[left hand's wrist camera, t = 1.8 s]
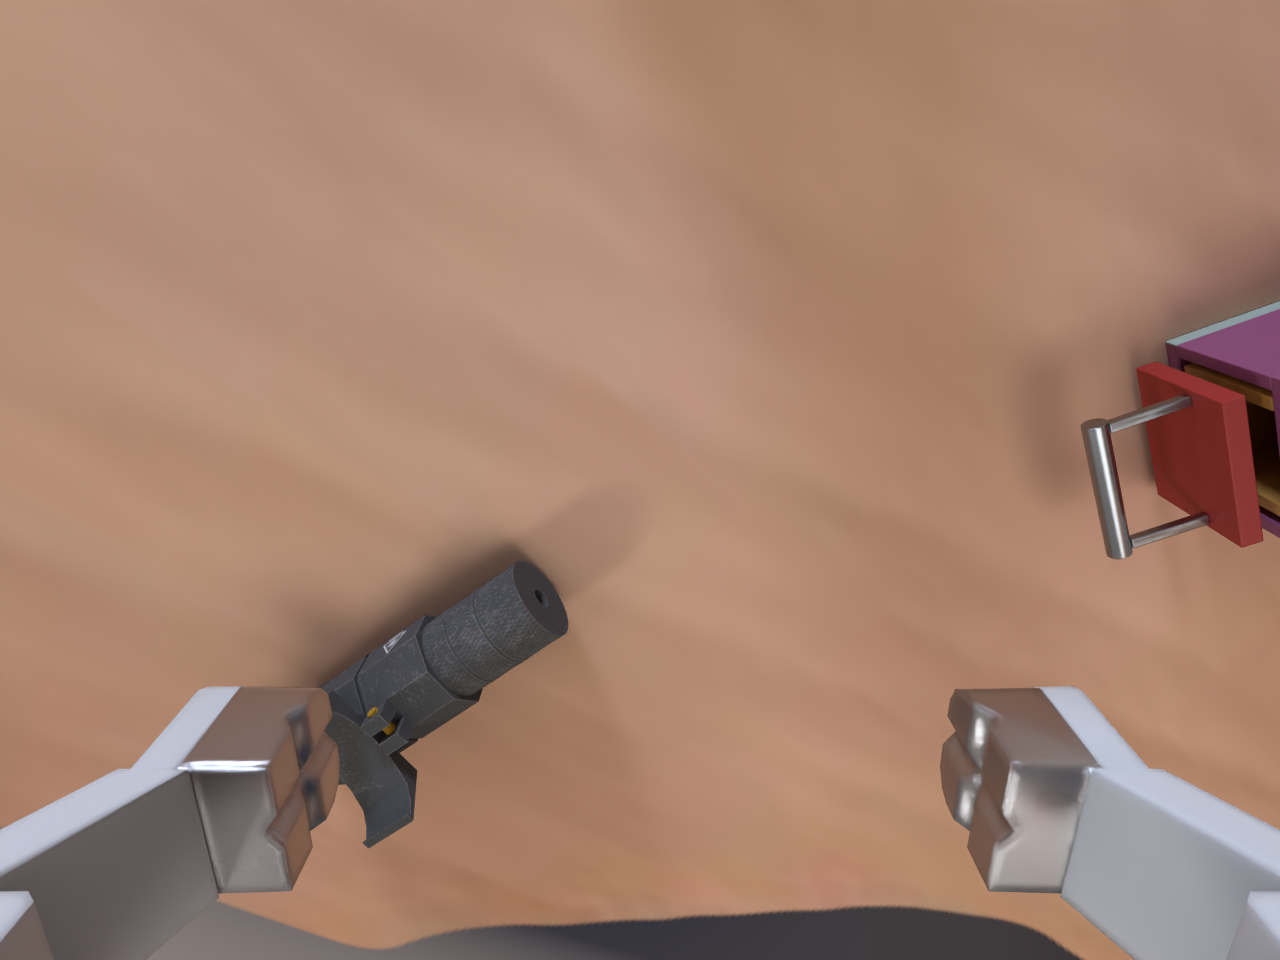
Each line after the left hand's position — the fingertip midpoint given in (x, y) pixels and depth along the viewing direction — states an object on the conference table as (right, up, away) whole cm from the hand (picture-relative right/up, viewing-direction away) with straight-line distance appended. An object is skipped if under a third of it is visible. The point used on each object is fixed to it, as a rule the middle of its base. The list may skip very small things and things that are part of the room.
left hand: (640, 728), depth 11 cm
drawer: (+34, +7, +40) cm, 53 cm away
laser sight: (-15, -9, +47) cm, 50 cm away
